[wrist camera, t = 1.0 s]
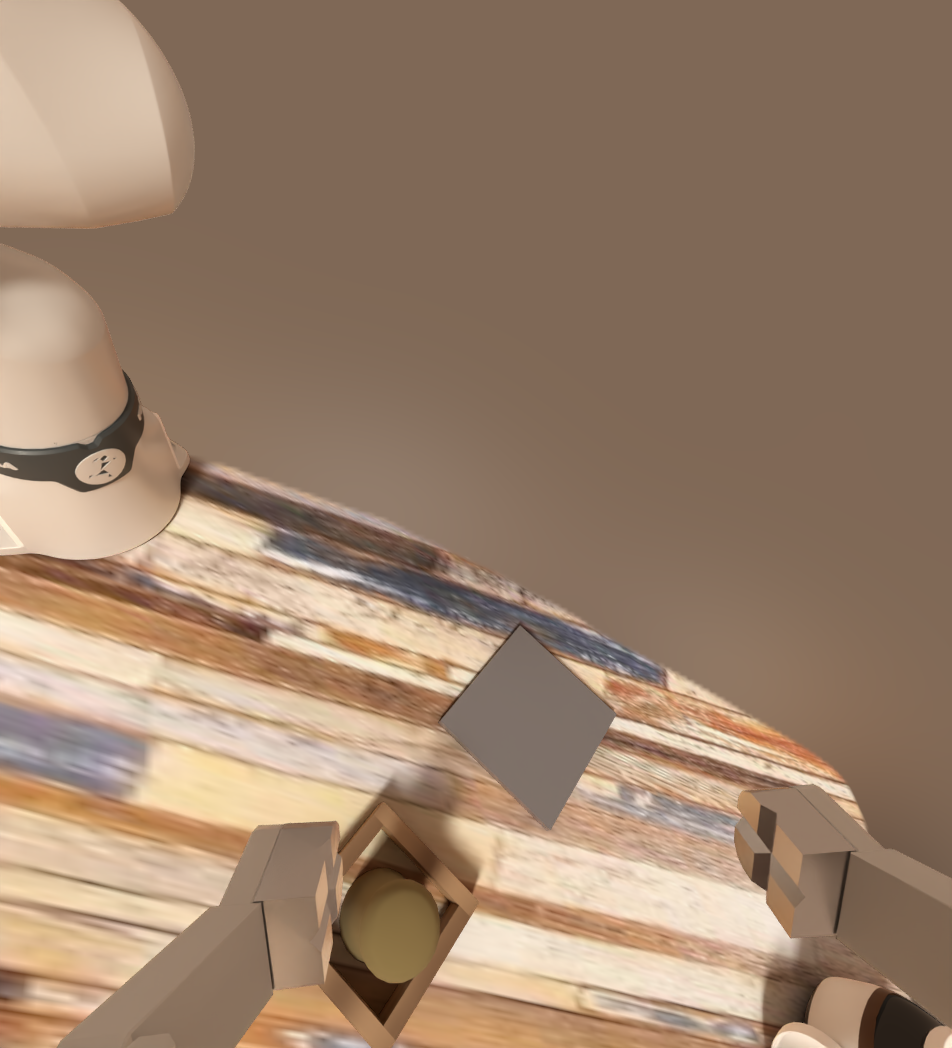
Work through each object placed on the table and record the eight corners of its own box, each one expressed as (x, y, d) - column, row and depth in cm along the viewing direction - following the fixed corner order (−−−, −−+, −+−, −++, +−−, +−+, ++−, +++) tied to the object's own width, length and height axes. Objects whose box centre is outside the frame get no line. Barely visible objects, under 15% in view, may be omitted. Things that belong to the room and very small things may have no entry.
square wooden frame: (275, 930, 37) (274, 934, 35) (379, 803, 43) (384, 801, 41) (377, 1049, 35) (383, 1061, 33) (470, 899, 41) (479, 902, 39)
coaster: (438, 722, 48) (440, 720, 48) (517, 627, 57) (520, 625, 56) (546, 830, 46) (550, 830, 45) (612, 715, 54) (616, 714, 54)
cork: (414, 862, 42) (448, 864, 33) (418, 955, 39) (457, 985, 30) (340, 873, 40) (355, 880, 31) (338, 972, 37) (354, 1010, 28)
